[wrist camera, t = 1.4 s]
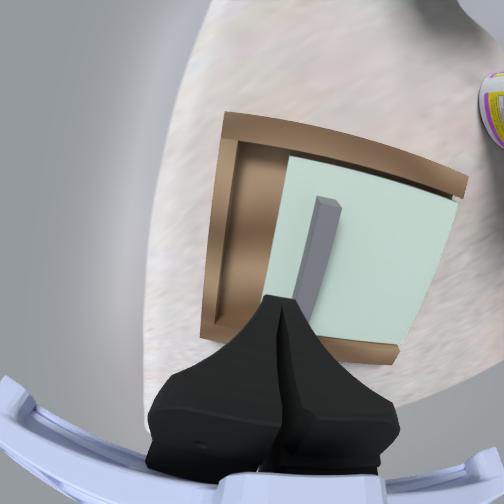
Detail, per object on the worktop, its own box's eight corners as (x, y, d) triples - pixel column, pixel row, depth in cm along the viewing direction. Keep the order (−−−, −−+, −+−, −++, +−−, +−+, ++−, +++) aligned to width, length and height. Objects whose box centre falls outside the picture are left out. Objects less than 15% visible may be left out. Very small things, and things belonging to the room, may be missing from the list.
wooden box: (383, 343, 23) (391, 365, 21) (208, 316, 24) (199, 337, 21) (447, 169, 17) (468, 176, 14) (233, 114, 17) (224, 111, 15)
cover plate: (397, 337, 21) (407, 360, 18) (257, 317, 21) (253, 342, 19) (451, 199, 16) (474, 211, 14) (289, 154, 17) (290, 158, 14)
